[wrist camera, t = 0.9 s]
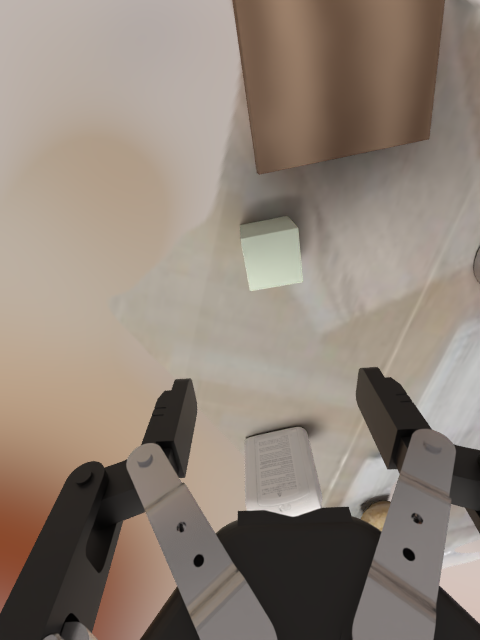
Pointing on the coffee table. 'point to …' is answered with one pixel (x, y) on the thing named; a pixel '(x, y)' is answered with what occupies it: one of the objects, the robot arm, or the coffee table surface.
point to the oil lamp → (377, 514)
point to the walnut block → (336, 76)
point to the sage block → (271, 253)
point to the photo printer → (281, 473)
